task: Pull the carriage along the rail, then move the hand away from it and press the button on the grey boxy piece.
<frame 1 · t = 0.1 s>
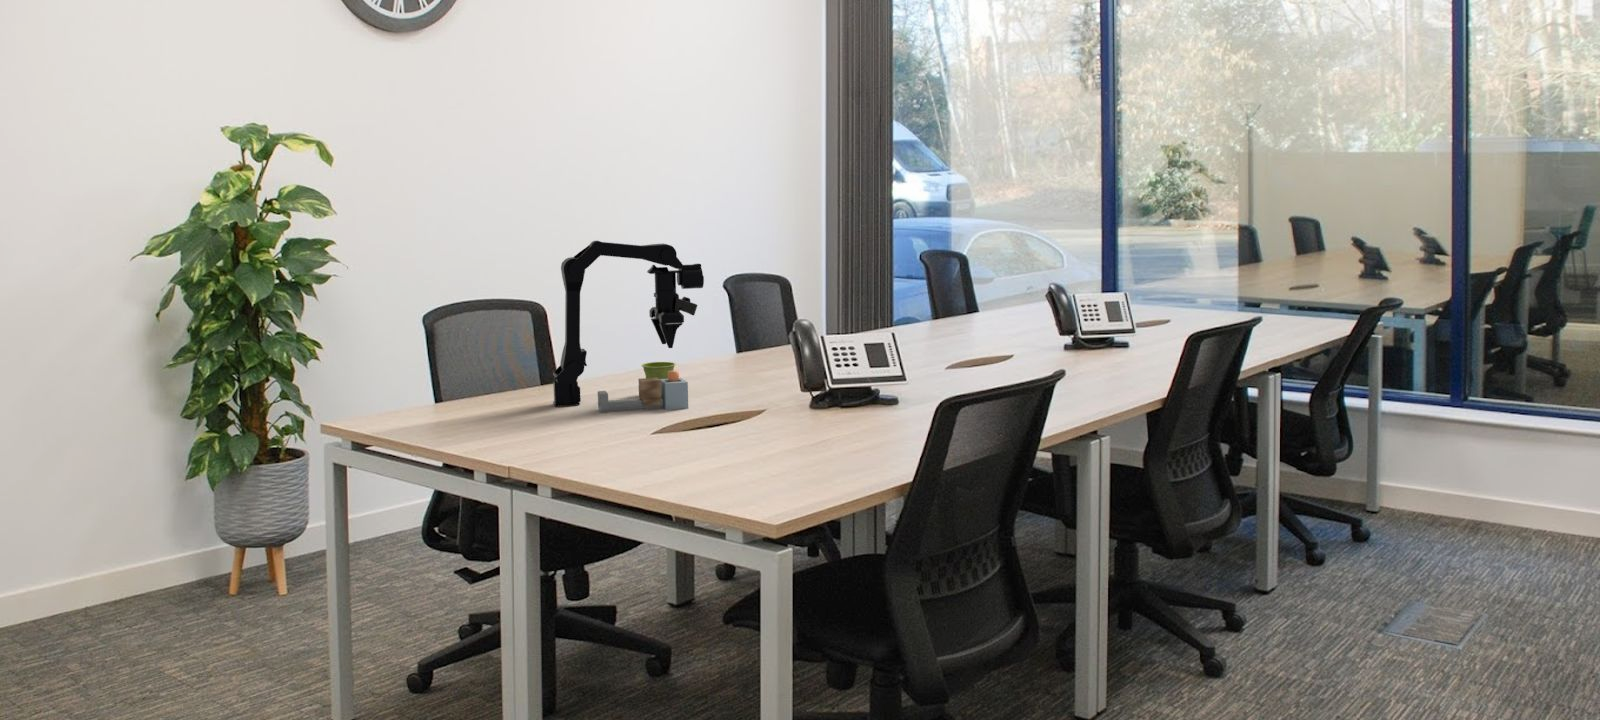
hand: (667, 346, 379), 15 cm above the table, fingers open, 9 cm apart
carriage: (649, 391, 365), point 4 cm above the table, slide at 0.0 cm
rail: (637, 408, 365), on the table
grey boxy piece: (674, 406, 367), on the table
button: (673, 378, 366), point 8 cm above the table, slide at 0.0 cm
plant pot: (659, 395, 387), on the table
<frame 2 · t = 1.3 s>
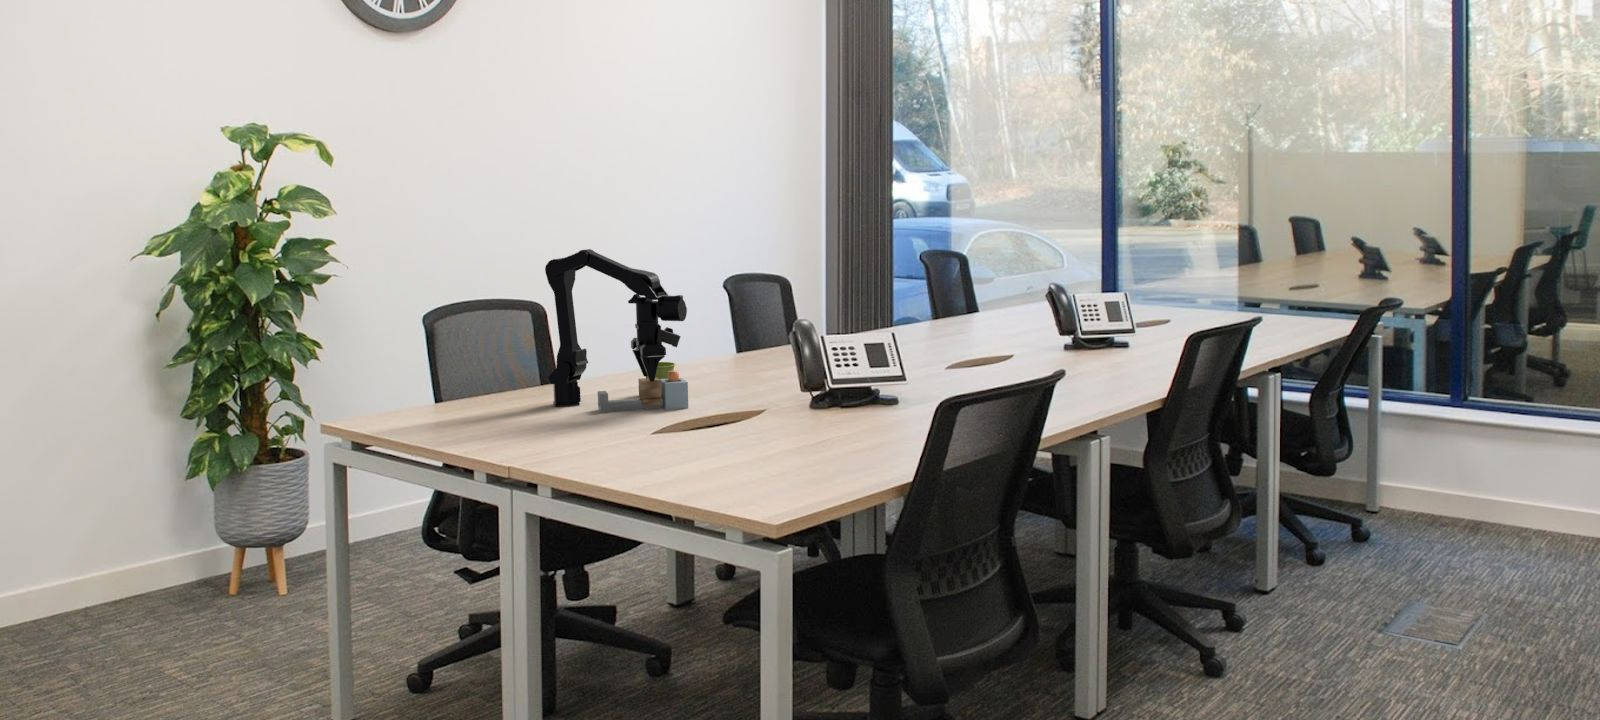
hand: (648, 378, 364), 8 cm above the table, fingers open, 9 cm apart
nothing on the table moved.
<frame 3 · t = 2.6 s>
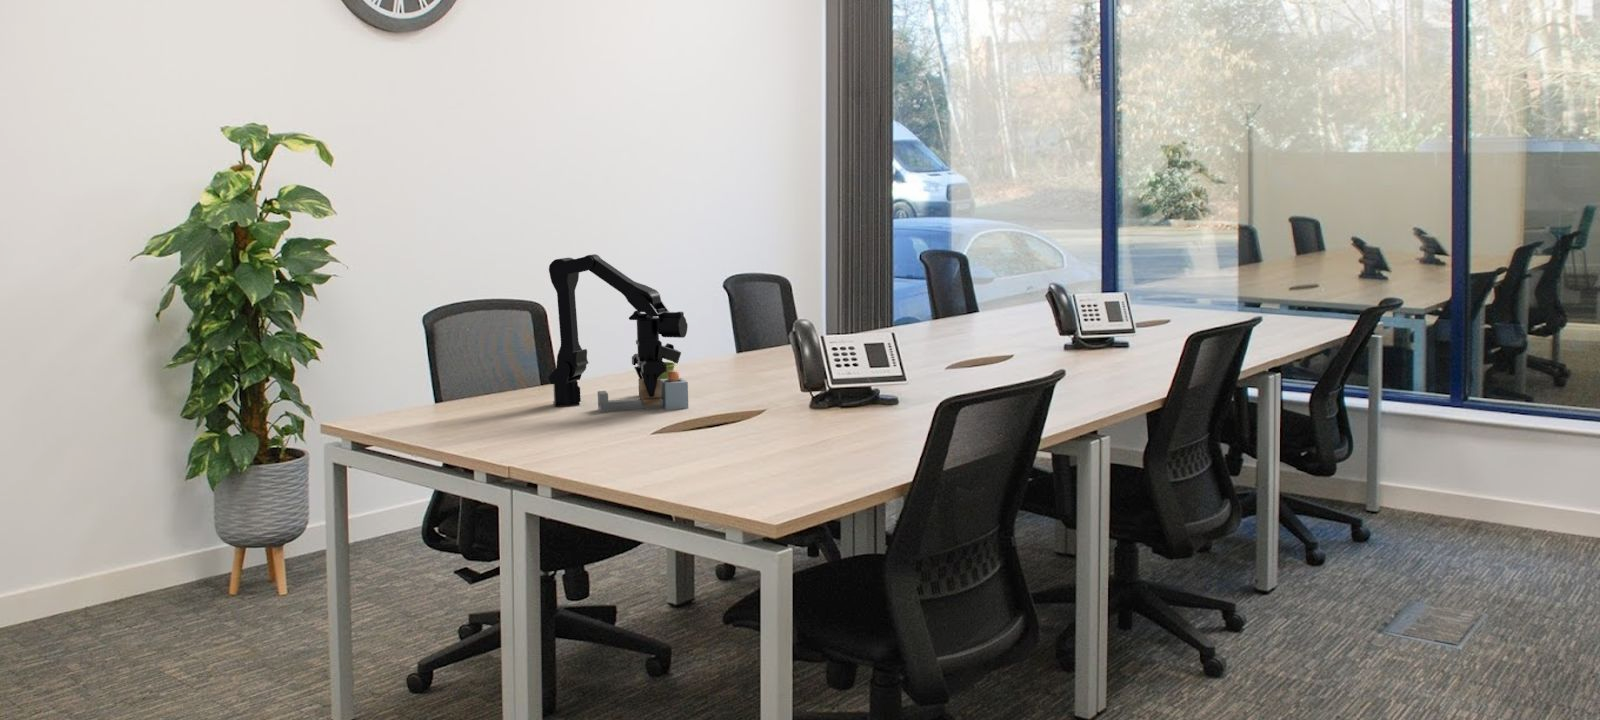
hand: (649, 395, 365), 4 cm above the table, fingers closed on carriage, 5 cm apart
carriage: (649, 391, 365), point 4 cm above the table, slide at 0.0 cm, touching gripper
everything else where it was.
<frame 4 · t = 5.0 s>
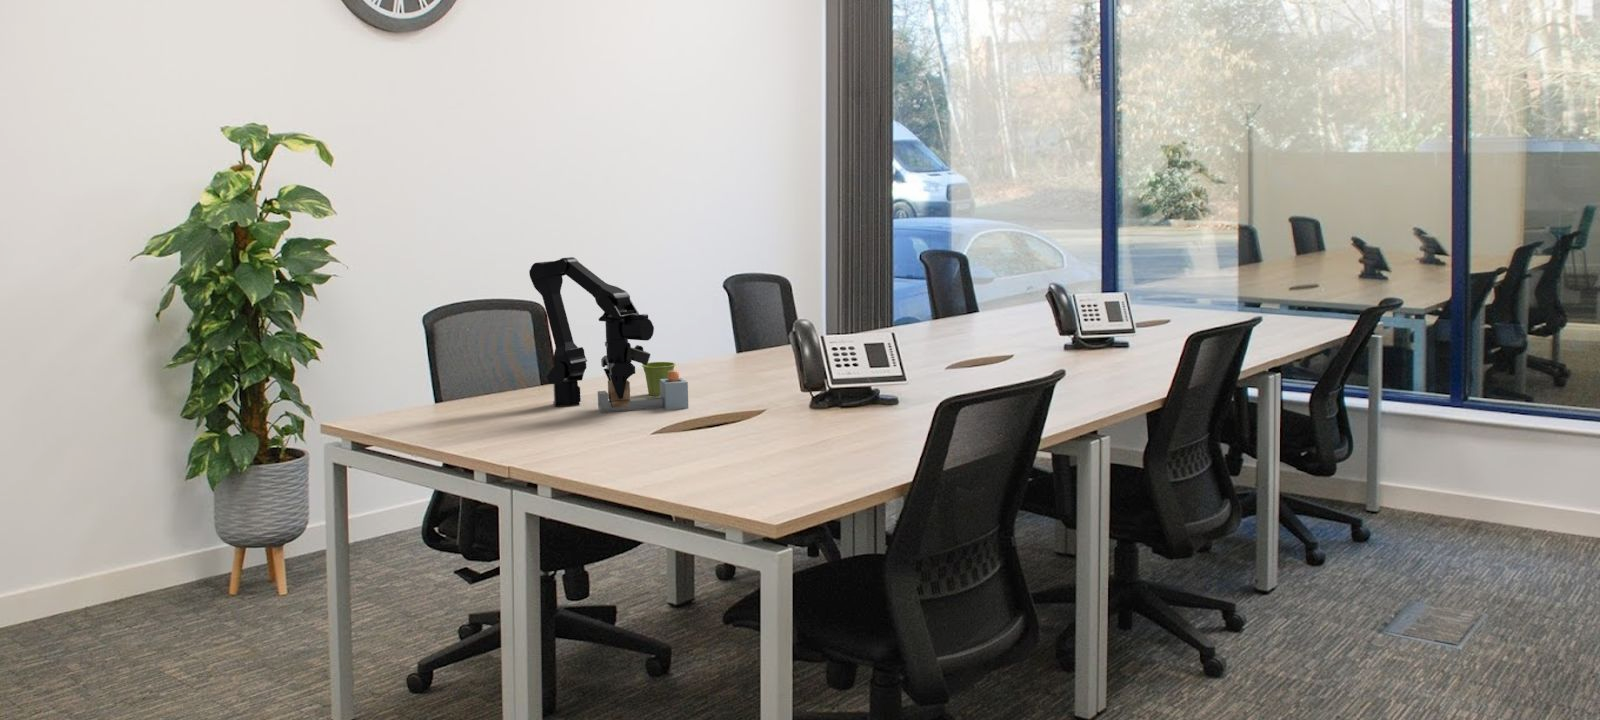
hand: (619, 397, 363), 3 cm above the table, fingers closed on carriage, 5 cm apart
carriage: (619, 393, 363), point 4 cm above the table, slide at 8.2 cm, touching gripper
everything else where it was.
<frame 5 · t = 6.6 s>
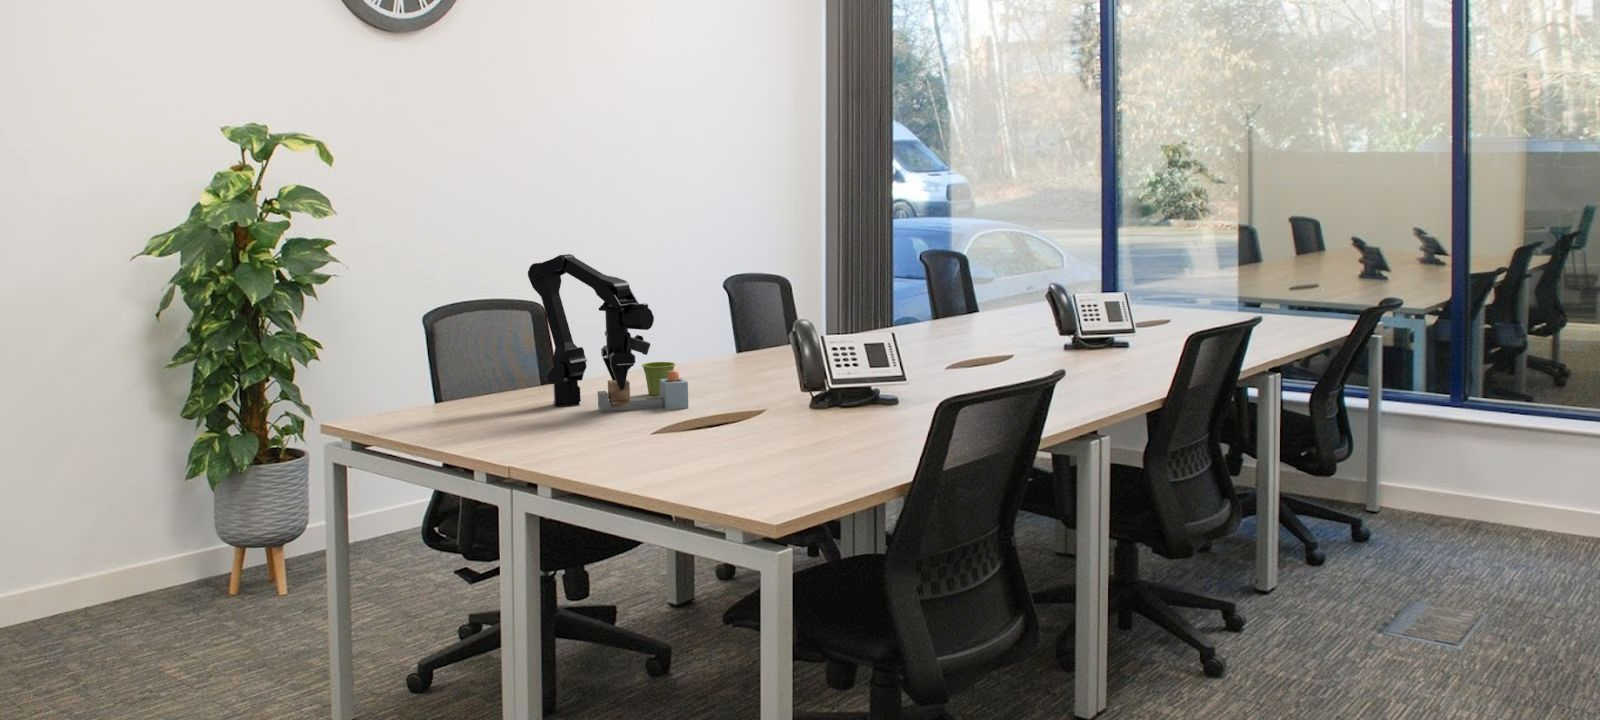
hand: (619, 386, 362), 6 cm above the table, fingers open, 9 cm apart
carriage: (618, 393, 363), point 4 cm above the table, slide at 8.2 cm
everything else where it was.
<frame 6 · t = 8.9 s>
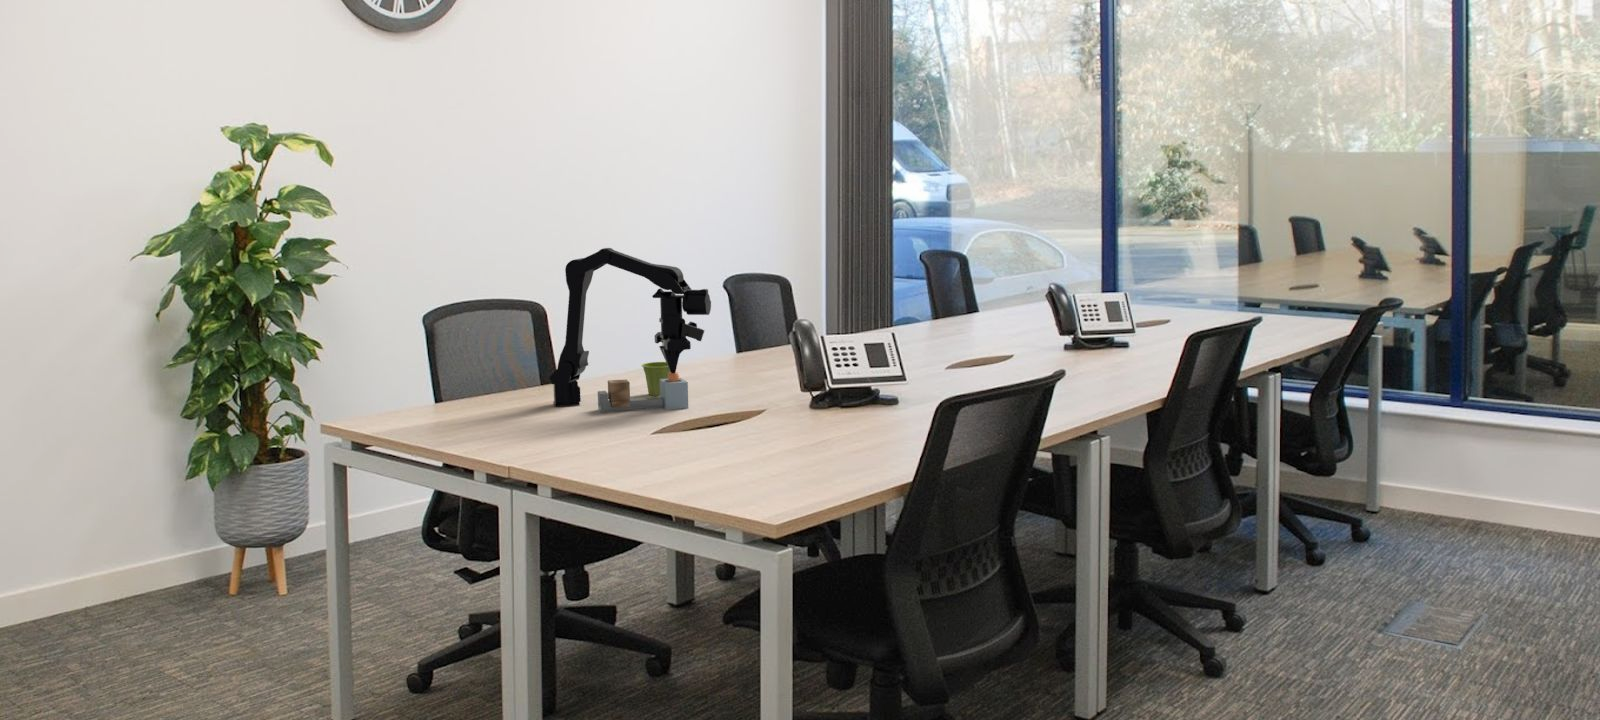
hand: (673, 372, 366), 9 cm above the table, fingers closed, pressing on button
button: (673, 379, 366), point 7 cm above the table, slide at 0.4 cm, touching gripper
everything else where it was.
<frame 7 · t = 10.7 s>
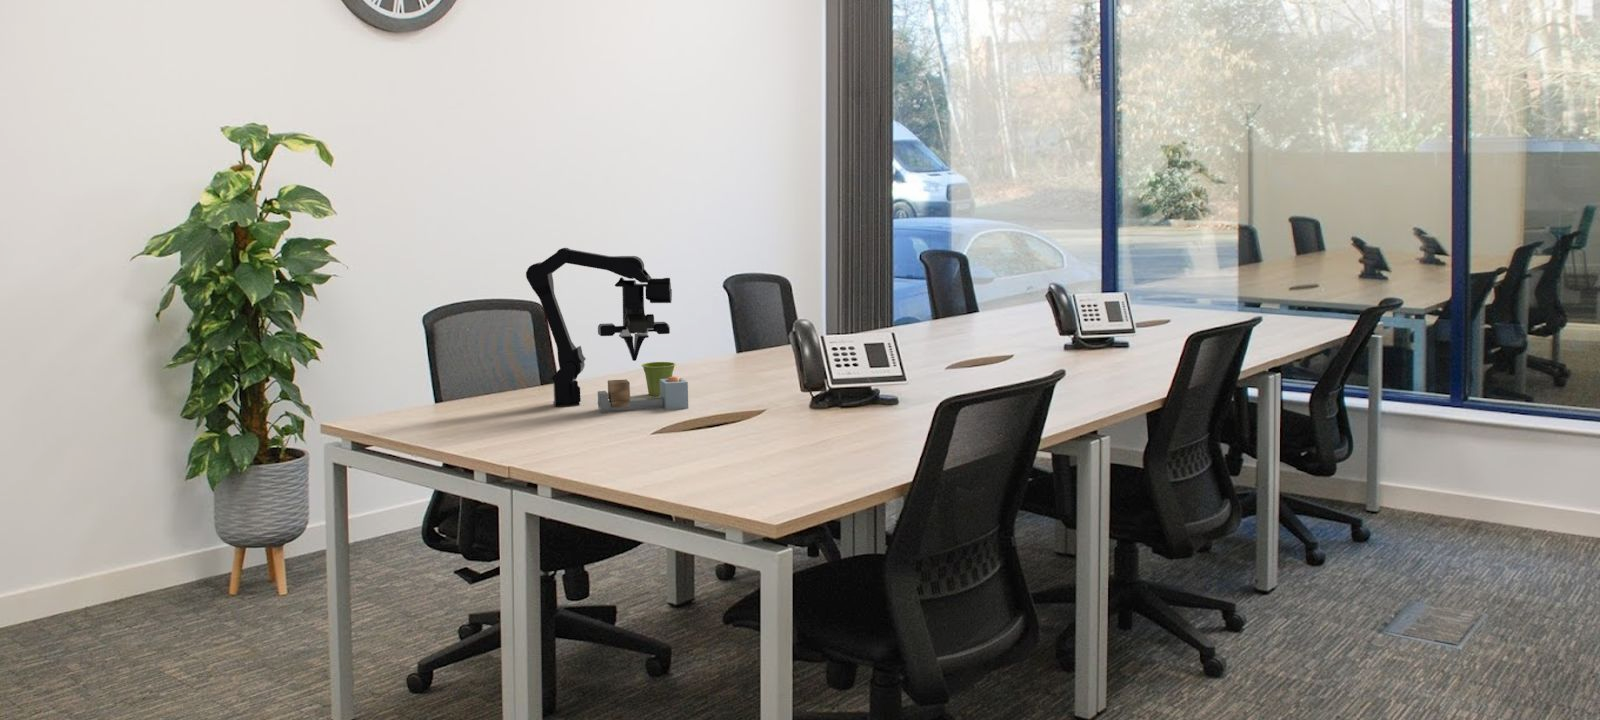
hand: (634, 360, 371), 12 cm above the table, fingers closed
button: (673, 384, 367), point 6 cm above the table, slide at 1.6 cm
everything else where it was.
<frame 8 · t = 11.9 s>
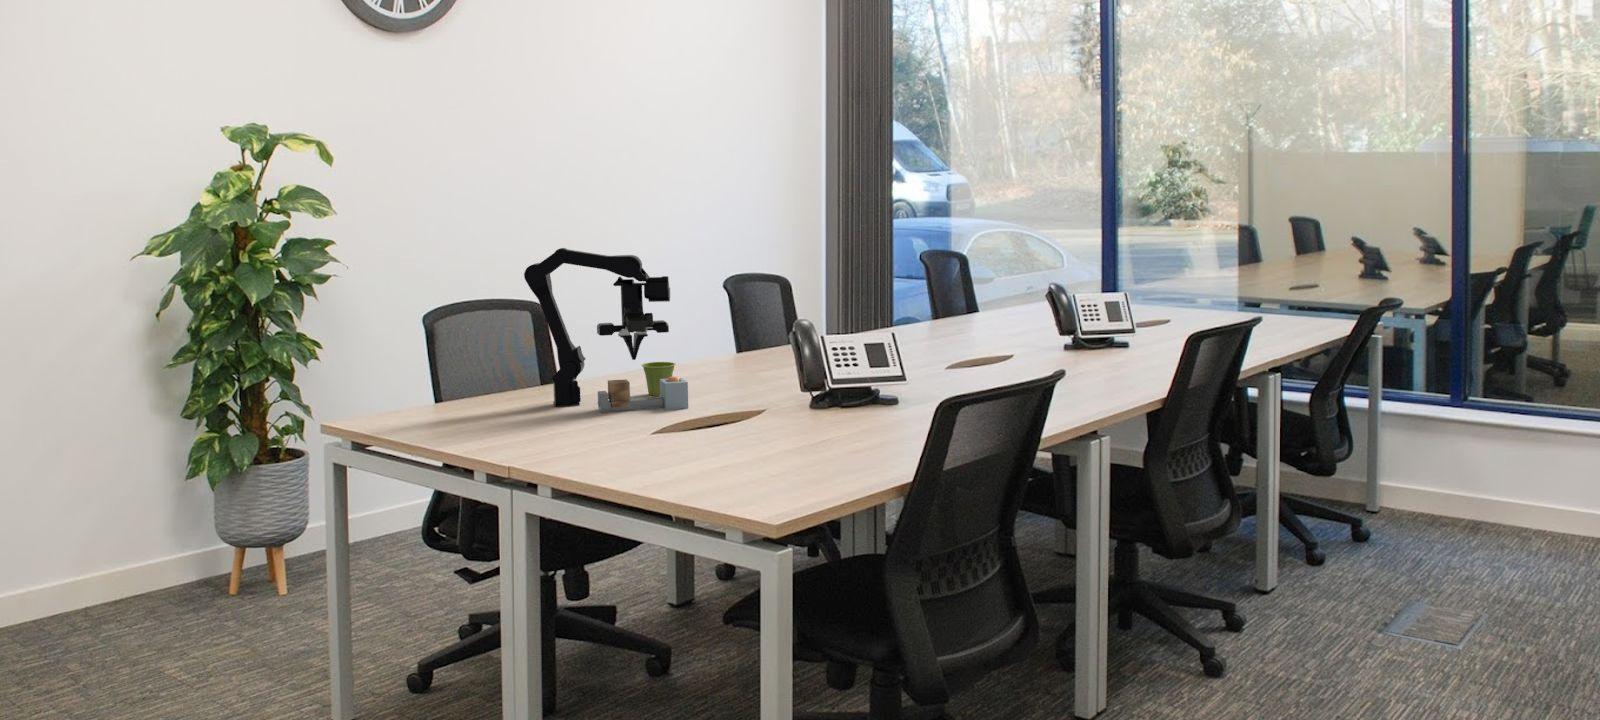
hand: (633, 359, 372), 12 cm above the table, fingers closed
nothing on the table moved.
at the end: carriage slide at 8.2 cm; button slide at 1.6 cm; the gripper is holding nothing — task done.
